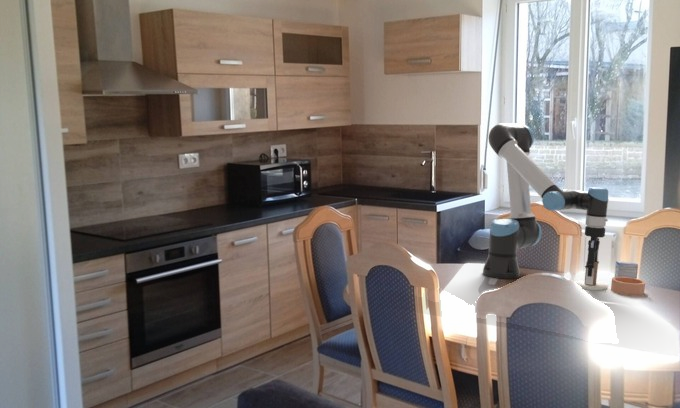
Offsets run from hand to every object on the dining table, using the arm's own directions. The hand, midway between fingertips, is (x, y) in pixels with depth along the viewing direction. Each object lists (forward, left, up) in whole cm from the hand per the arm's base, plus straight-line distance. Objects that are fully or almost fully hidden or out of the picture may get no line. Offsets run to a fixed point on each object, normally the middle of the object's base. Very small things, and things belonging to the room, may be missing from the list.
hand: (590, 281), depth 278 cm
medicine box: (+12, +19, -3) cm, 23 cm away
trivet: (0, 0, -2) cm, 2 cm away
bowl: (+14, 0, -2) cm, 14 cm away
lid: (0, 0, -2) cm, 2 cm away
